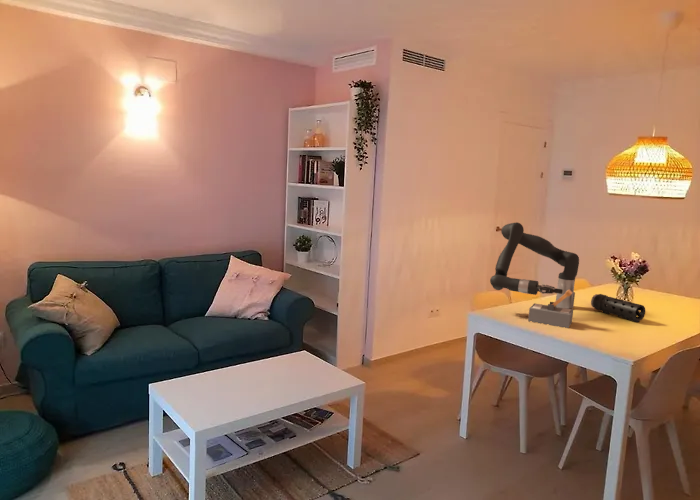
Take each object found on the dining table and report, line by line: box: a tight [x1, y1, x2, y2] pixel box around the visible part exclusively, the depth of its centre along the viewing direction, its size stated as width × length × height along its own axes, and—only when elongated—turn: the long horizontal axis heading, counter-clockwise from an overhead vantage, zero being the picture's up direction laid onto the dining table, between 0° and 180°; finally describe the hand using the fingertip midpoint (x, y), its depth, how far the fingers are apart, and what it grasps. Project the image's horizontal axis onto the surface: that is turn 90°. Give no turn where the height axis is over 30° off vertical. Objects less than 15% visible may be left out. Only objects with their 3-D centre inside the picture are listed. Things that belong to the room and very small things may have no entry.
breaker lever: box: [551, 289, 573, 307], centre depth 272 cm, size 2×5×13 cm
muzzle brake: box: [590, 293, 646, 323], centre depth 295 cm, size 10×28×10 cm, turn 27°
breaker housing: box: [527, 301, 574, 329], centre depth 275 cm, size 20×14×10 cm
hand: (562, 291), depth 271 cm, fingers closed
